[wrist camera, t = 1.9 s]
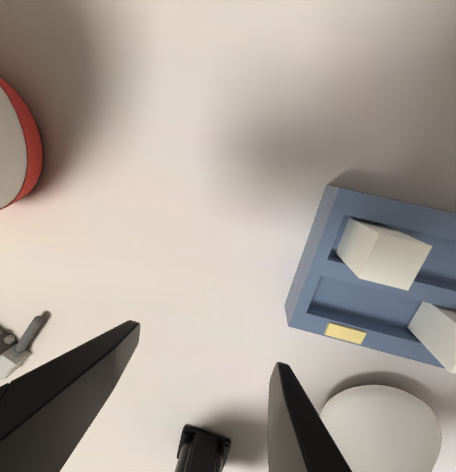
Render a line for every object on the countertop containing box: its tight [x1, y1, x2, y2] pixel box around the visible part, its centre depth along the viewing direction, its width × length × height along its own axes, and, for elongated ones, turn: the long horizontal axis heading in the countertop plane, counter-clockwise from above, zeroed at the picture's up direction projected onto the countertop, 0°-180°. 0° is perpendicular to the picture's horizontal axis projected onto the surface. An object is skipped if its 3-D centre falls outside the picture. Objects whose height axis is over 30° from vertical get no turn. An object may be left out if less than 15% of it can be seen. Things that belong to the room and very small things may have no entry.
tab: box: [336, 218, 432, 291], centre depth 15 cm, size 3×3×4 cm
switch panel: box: [285, 185, 456, 369], centre depth 18 cm, size 12×16×3 cm
